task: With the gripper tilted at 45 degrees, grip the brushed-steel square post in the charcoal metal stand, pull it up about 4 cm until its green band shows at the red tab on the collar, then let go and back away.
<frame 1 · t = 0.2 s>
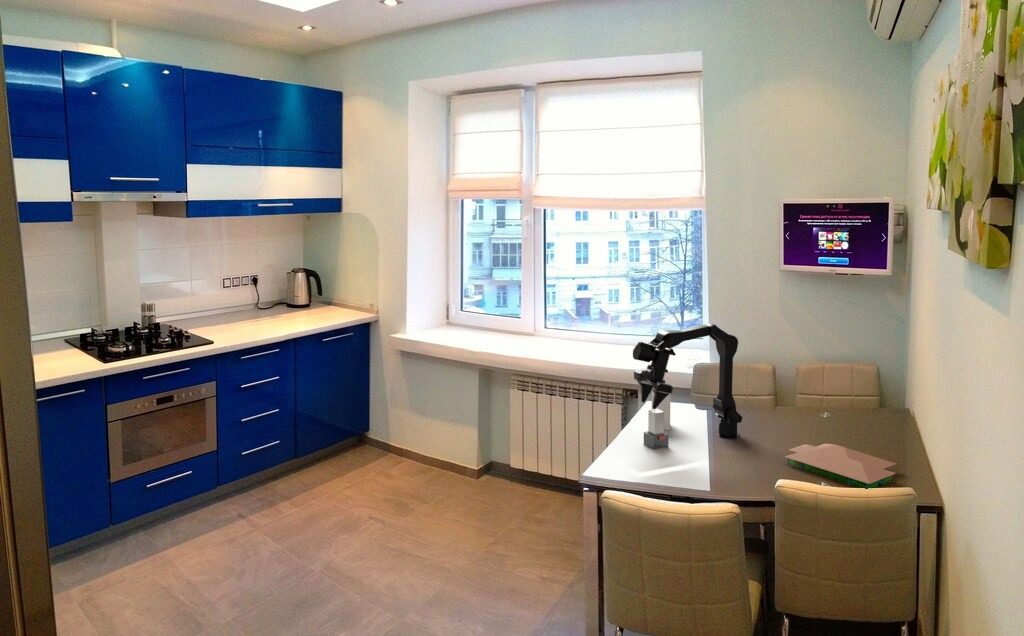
hand: (648, 405, 271), 15 cm above the table, tool tilted 15°, fingers open, 9 cm apart
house: (841, 470, 245), on the table
stand: (656, 449, 269), on the table
milk carton: (660, 430, 291), on the table
post: (656, 428, 268), point 8 cm above the table, slide at 0.0 cm
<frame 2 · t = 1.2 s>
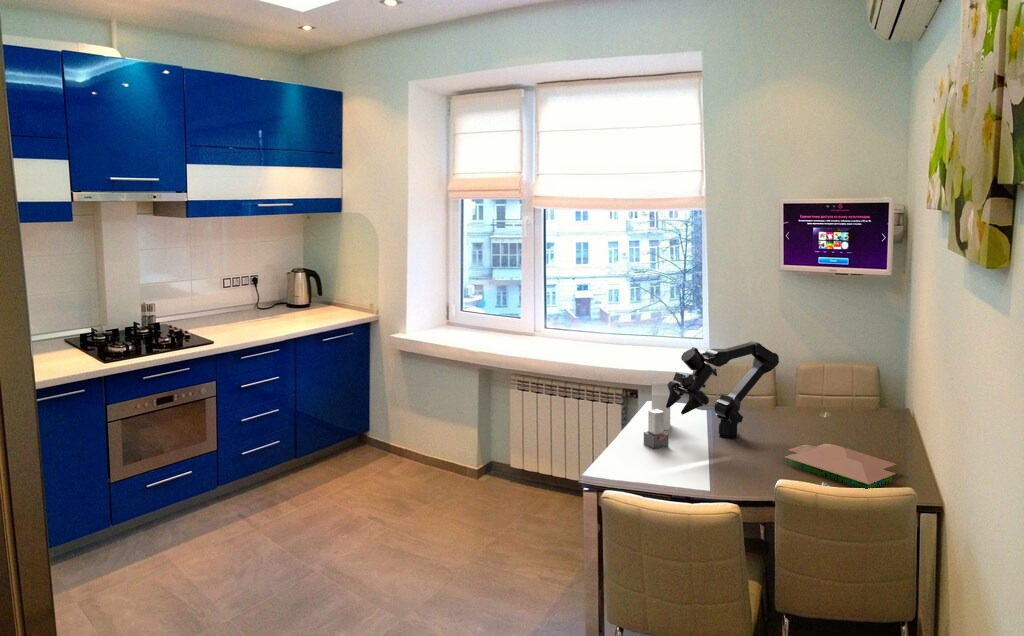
hand: (674, 410, 270), 13 cm above the table, tool tilted 45°, fingers open, 9 cm apart
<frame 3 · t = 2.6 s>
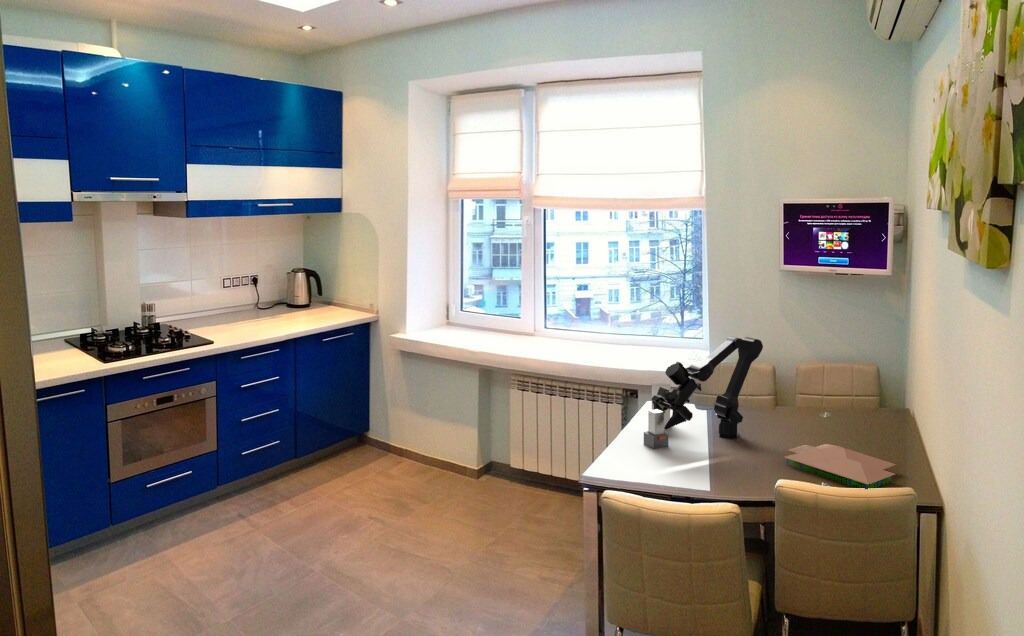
hand: (657, 425, 268), 9 cm above the table, tool tilted 45°, fingers open, 9 cm apart
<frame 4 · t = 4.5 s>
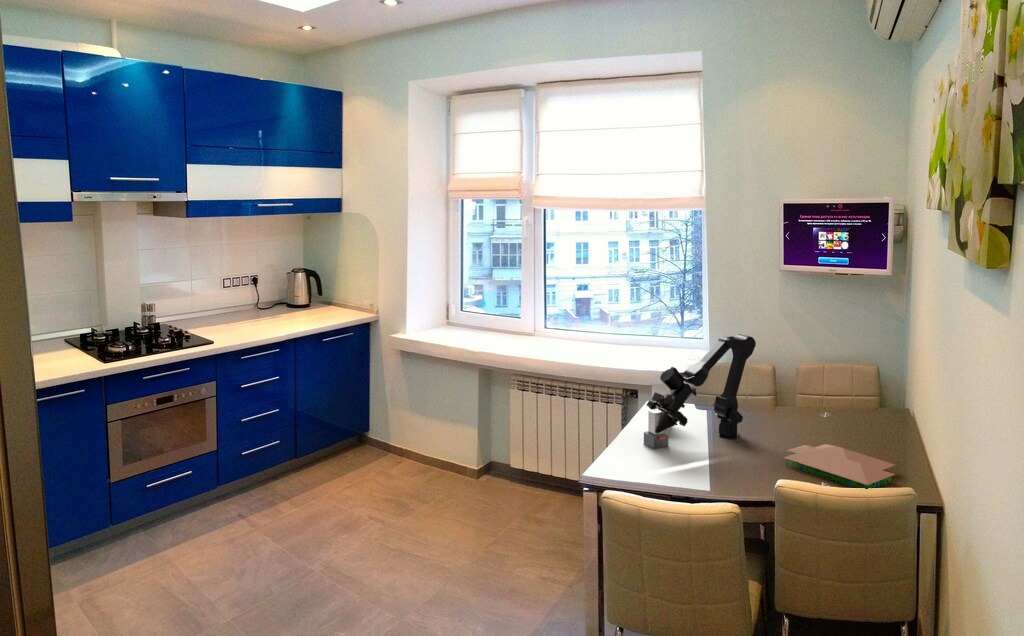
hand: (652, 431, 267), 7 cm above the table, tool tilted 45°, fingers closed on post, 4 cm apart
post: (656, 428, 268), point 8 cm above the table, slide at 0.0 cm, touching gripper
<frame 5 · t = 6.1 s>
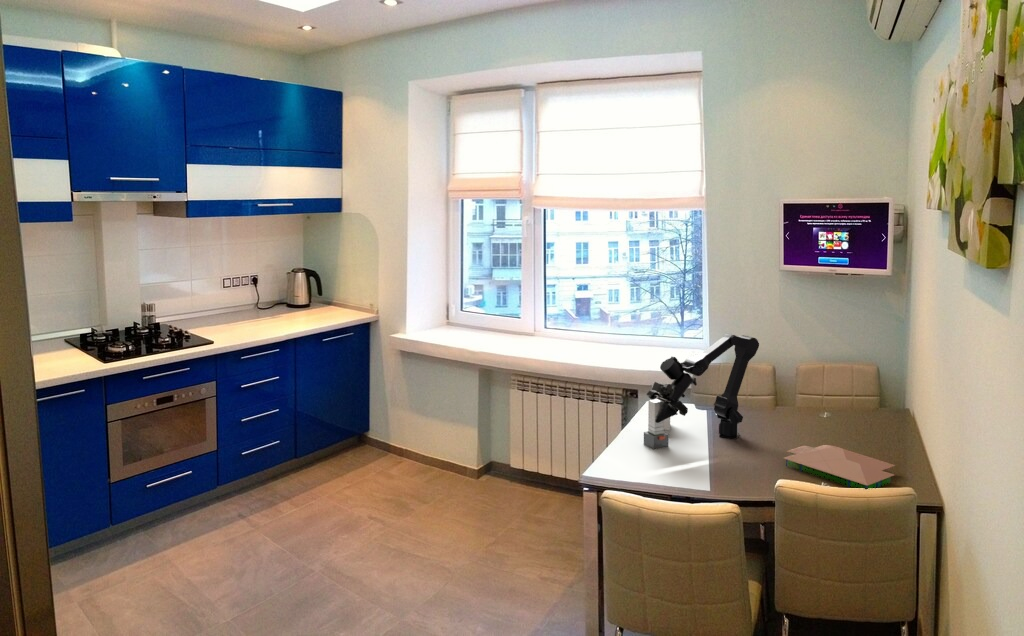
hand: (653, 420, 267), 11 cm above the table, tool tilted 45°, fingers closed on post, 4 cm apart
post: (656, 418, 267), point 12 cm above the table, slide at 3.8 cm, touching gripper
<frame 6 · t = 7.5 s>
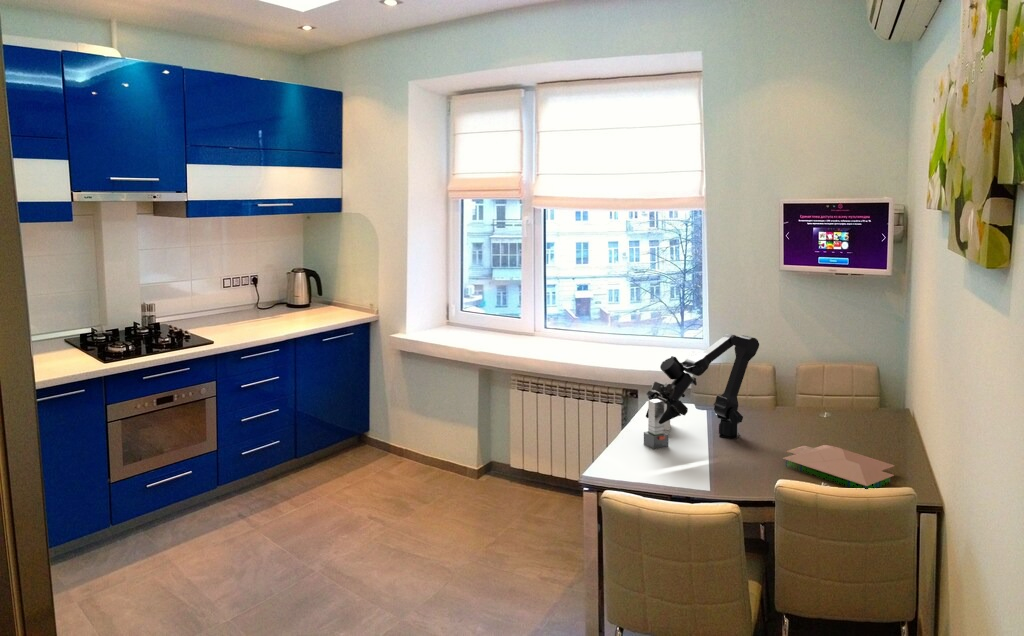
hand: (652, 420, 267), 11 cm above the table, tool tilted 45°, fingers open, 8 cm apart
post: (656, 418, 267), point 12 cm above the table, slide at 3.9 cm
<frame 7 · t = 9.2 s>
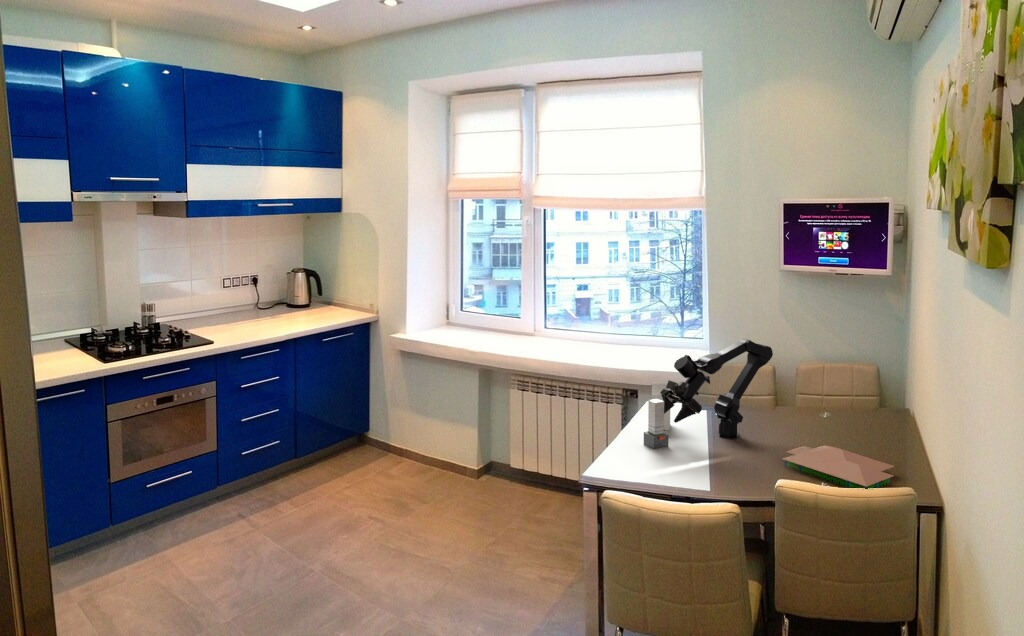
hand: (667, 418, 269), 11 cm above the table, tool tilted 45°, fingers open, 9 cm apart
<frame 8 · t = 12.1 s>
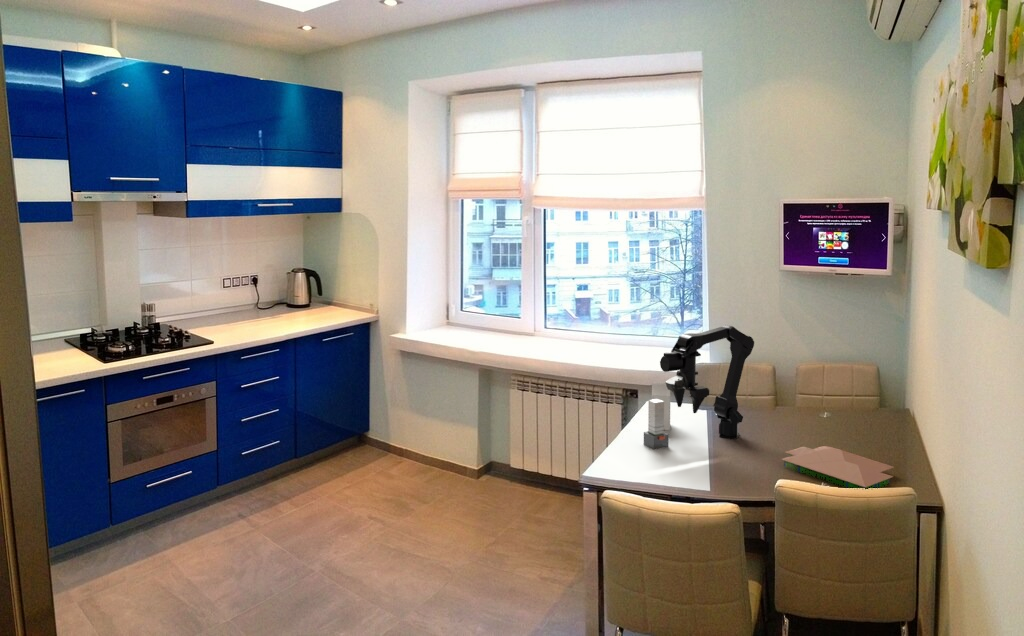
hand: (687, 409, 272), 13 cm above the table, tool pointing down, fingers open, 9 cm apart
at the end: post slide at 3.9 cm; the gripper is holding nothing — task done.
